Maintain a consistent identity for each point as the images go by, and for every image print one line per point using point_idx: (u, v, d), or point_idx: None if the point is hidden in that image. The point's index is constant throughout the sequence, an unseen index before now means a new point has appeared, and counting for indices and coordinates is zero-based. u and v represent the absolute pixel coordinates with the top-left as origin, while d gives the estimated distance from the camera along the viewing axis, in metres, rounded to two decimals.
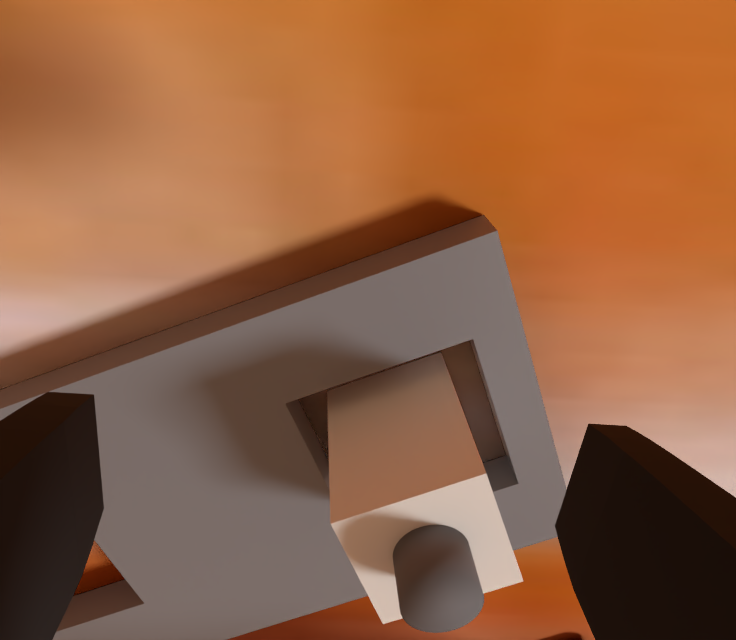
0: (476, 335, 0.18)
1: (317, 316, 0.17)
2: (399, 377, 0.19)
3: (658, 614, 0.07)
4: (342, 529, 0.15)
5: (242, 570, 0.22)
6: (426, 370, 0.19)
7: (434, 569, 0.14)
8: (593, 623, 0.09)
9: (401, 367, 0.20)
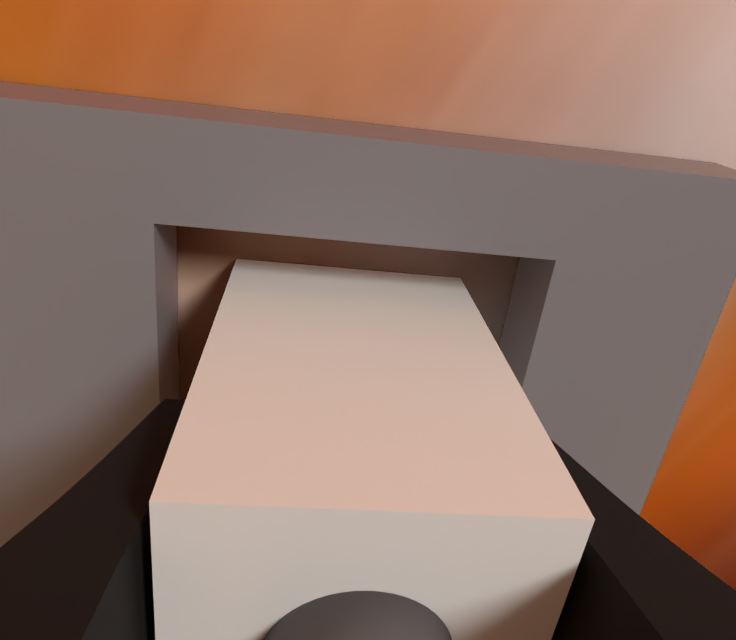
0: (147, 214, 0.09)
1: (13, 443, 0.10)
2: None
3: None
4: None
5: None
6: None
7: None
8: None
9: None
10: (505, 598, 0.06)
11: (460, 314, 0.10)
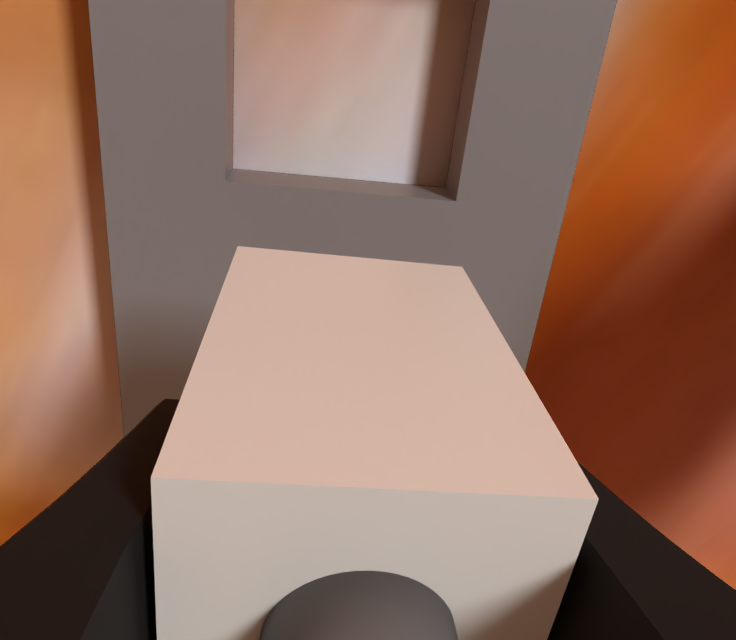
0: None
1: (122, 88, 0.14)
2: None
3: None
4: None
5: None
6: None
7: None
8: None
9: None
10: (508, 579, 0.06)
11: (462, 301, 0.09)
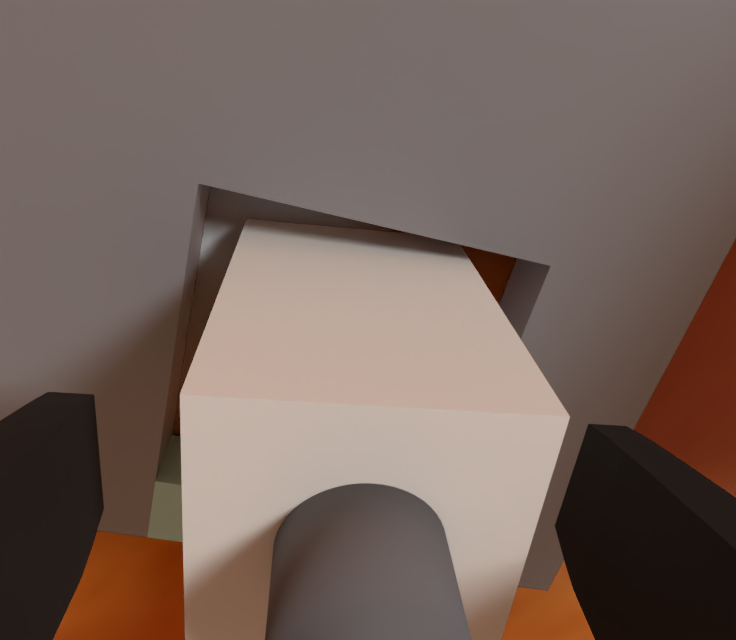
0: None
1: None
2: None
3: (658, 614, 0.07)
4: None
5: (644, 29, 0.09)
6: None
7: None
8: (593, 623, 0.09)
9: None
10: (492, 492, 0.07)
11: (455, 266, 0.10)
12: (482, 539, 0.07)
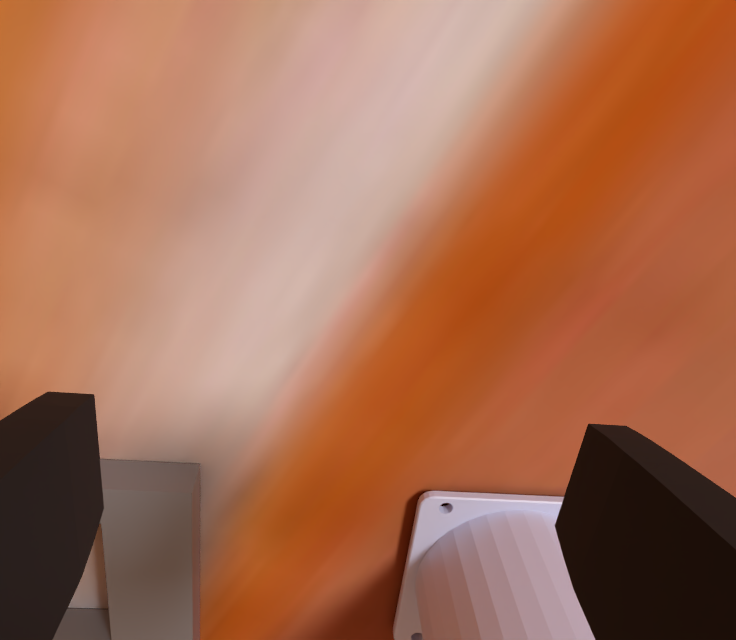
0: None
1: None
2: None
3: (658, 614, 0.07)
4: None
5: None
6: None
7: None
8: (593, 623, 0.09)
9: None
10: None
11: None
12: None
